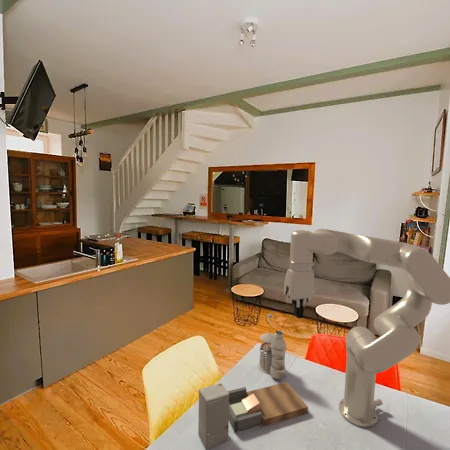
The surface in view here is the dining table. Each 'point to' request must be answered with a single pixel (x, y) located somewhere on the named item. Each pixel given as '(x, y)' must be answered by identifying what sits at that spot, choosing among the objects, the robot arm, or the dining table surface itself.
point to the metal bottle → (278, 356)
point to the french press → (266, 347)
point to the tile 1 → (239, 409)
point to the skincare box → (213, 415)
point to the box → (243, 421)
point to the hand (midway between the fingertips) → (298, 316)
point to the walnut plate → (278, 403)
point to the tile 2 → (251, 404)
